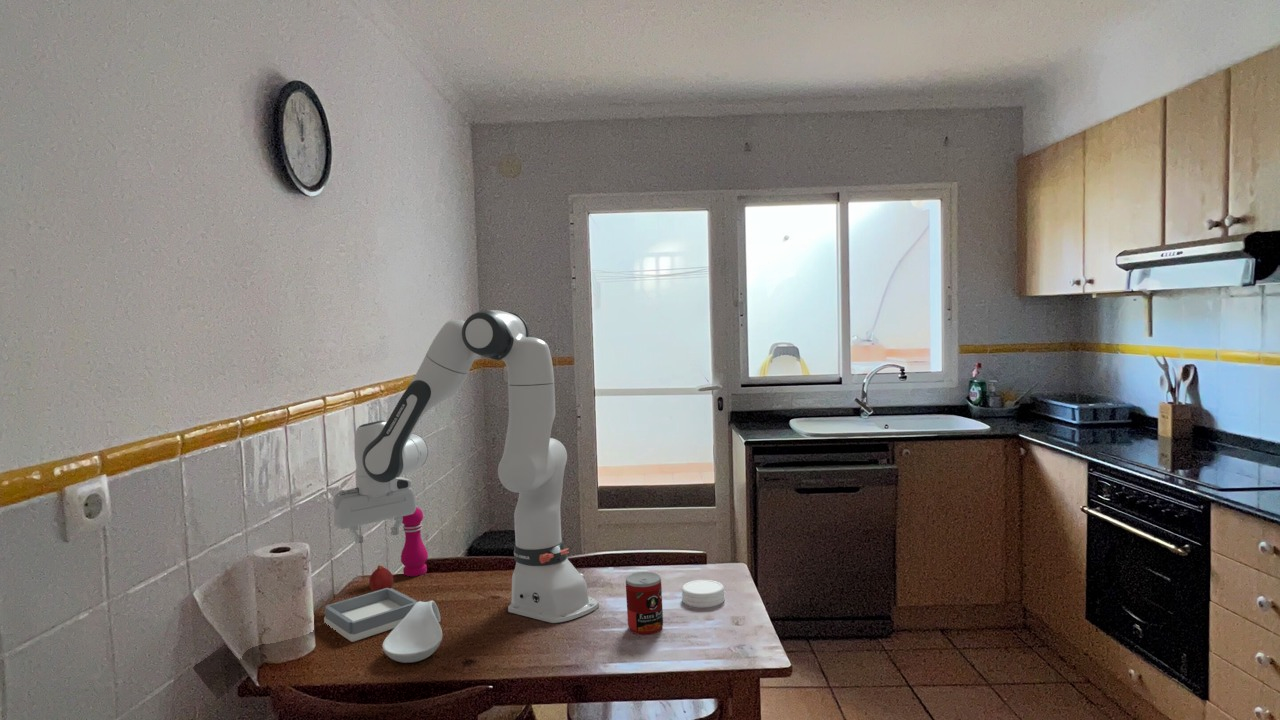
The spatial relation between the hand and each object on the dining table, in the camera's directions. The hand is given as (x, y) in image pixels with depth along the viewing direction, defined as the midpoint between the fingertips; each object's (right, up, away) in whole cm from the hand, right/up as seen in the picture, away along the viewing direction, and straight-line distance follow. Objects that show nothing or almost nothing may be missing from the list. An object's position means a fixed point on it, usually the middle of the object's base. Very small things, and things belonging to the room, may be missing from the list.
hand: (377, 538), depth 184 cm
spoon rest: (+20, -15, -31) cm, 40 cm away
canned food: (+68, -13, -28) cm, 75 cm away
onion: (+1, -15, 0) cm, 15 cm away
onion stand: (+5, -15, -17) cm, 23 cm away
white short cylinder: (+82, -12, -14) cm, 84 cm away
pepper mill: (+4, -14, +17) cm, 23 cm away
